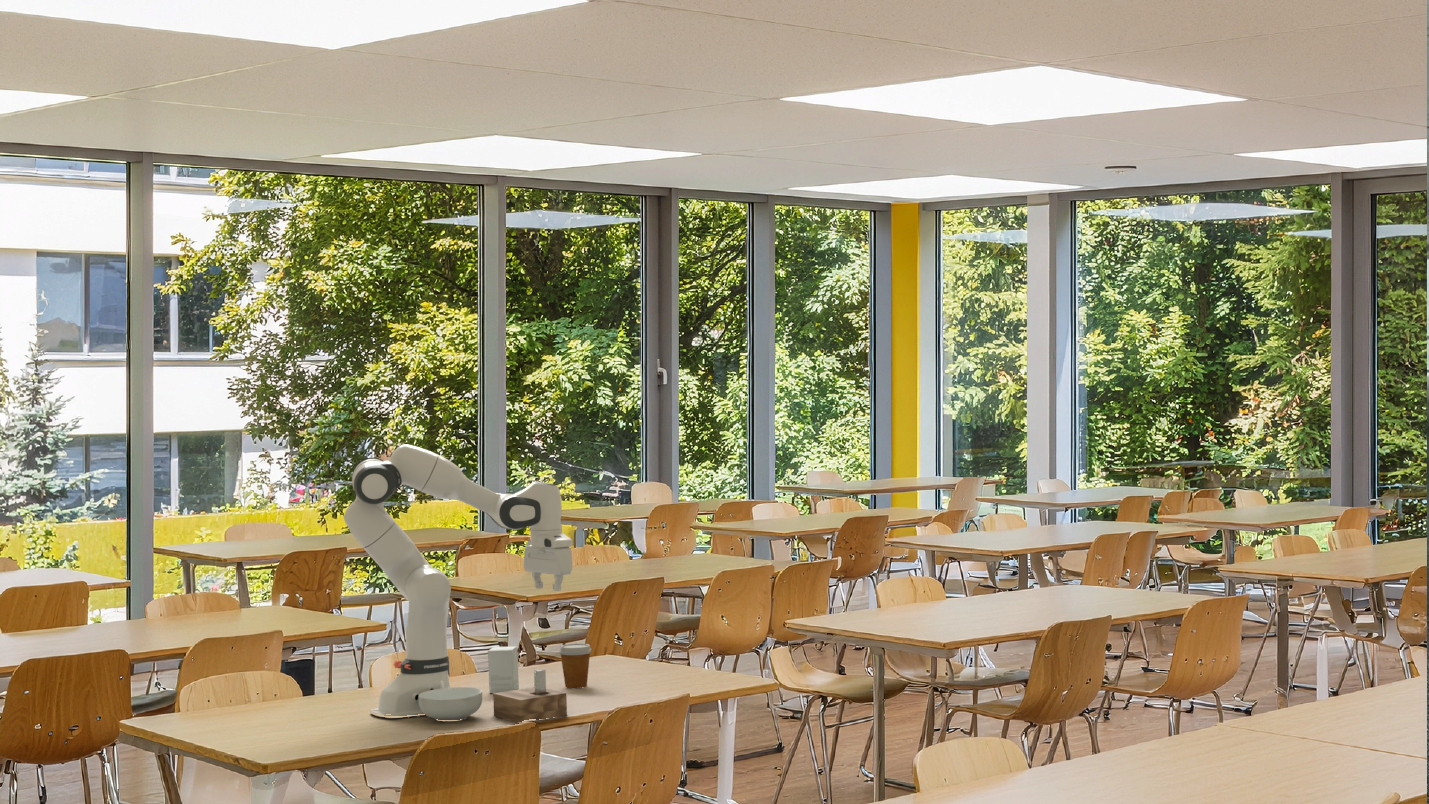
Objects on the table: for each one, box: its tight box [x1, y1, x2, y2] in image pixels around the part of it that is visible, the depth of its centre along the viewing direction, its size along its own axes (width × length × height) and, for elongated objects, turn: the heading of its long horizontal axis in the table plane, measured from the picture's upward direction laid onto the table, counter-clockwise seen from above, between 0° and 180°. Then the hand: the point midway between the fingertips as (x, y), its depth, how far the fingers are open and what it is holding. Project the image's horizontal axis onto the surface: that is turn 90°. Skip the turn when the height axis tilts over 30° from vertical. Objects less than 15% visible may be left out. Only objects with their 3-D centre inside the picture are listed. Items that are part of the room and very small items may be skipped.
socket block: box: [492, 686, 568, 723], centre depth 392 cm, size 14×14×6 cm
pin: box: [533, 668, 547, 695], centre depth 392 cm, size 3×3×10 cm
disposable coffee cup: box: [558, 643, 592, 689], centre depth 436 cm, size 10×10×12 cm
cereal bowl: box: [418, 686, 483, 720], centre depth 391 cm, size 17×17×7 cm
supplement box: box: [487, 645, 520, 694], centre depth 431 cm, size 7×7×13 cm
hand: (547, 589), depth 413 cm, fingers open, 8 cm apart
